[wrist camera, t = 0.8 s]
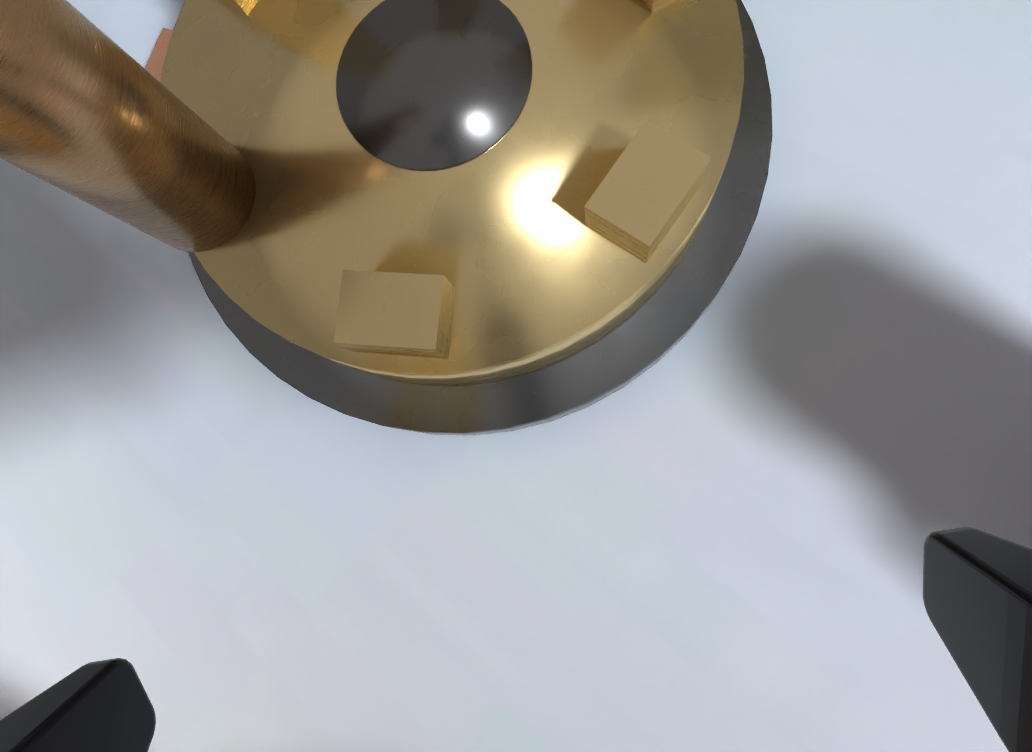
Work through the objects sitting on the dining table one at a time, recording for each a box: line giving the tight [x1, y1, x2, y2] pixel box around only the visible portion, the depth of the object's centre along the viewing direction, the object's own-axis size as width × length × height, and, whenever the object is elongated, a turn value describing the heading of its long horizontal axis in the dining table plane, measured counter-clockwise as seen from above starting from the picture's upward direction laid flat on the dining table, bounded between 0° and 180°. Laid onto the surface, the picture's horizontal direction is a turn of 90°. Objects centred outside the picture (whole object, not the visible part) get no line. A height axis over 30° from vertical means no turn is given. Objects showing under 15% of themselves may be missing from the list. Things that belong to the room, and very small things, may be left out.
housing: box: [145, 0, 772, 435], centre depth 24 cm, size 21×24×2 cm
